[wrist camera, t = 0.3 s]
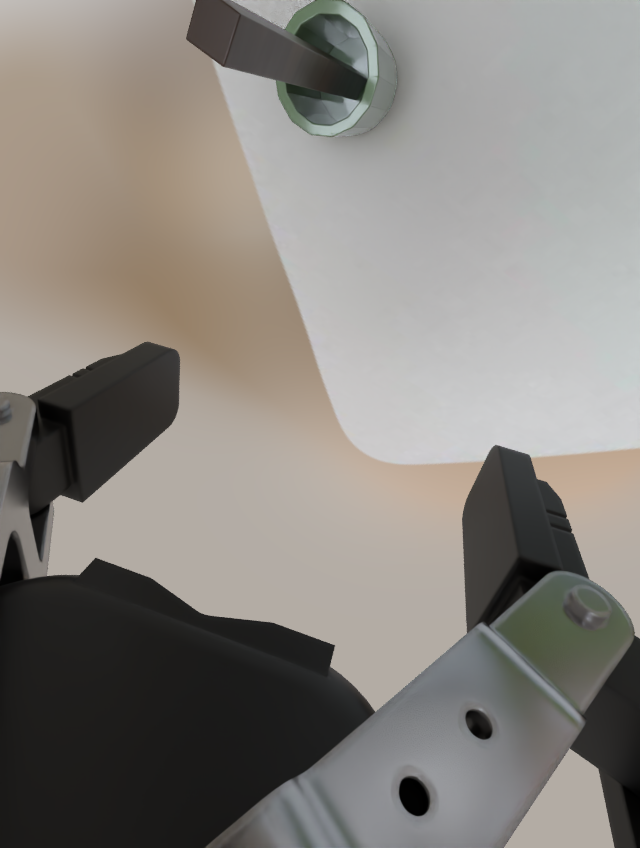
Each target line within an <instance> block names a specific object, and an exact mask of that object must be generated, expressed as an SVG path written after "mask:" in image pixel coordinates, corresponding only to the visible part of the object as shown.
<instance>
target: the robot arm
mask: <svg viewBox="0 0 640 848" xmlns="http://www.w3.org/2000/svg"><path fill="white" fill-rule="evenodd" d="M179 375H180V357H179V354H178V352H177V351H176V350H174V349H171V348H168V347H164V346H161V345H158V344H154V343H151V342H144V343H142V344H140V345H139V346H137V347H135V348H133V349H131V350H129V351H127V352H125V353H123V354H121V355H116V356H112V357H107V358H103V359H100V360H98V361H97V362H95V363H93V364H91V365H89V366H87V367H86V369H81V370H79V371H77V372H75V373H73V376H70V375H69V376H67V377H65V378H63V379H61V380H59V381H57V382H55V383H53V384H52V385H50V386H48V387H46V388H44V389H42V390H40V391H38V392H36V393H34V394H32V395H30V396H28V397H26V396H24V395H21V394H16V393H9V392H0V848H504V846H505V845H506V843H507V842H508V840H509V839H510V837H511V836H512V834H513V833H514V831H515V830H516V828H517V826H518V825H519V824H520V822H521V821H522V819H523V818H524V816H525V814H526V813H527V812H528V810H529V809H530V807H531V806H532V804H533V803H534V801H535V800H536V798H537V796H538V795H539V793H540V792H541V791H542V789H543V788H544V786H545V784H546V783H547V781H548V780H549V778H550V777H551V775H552V774H553V772H554V771H555V769H556V768H557V766H558V765H559V763H560V762H561V760H562V759H563V757H564V756H565V754H566V753H567V751H568V750H569V748H570V749H571V750H573V751H574V752H576V753H577V754H579V755H580V756H581V757H583V758H584V759H586V760H587V761H589V762H590V763H591V764H593V765H594V766H596V767H597V768H598V769H599V773H600V778H601V783H602V788H603V793H604V798H605V802H606V808H607V813H608V817H609V822H610V827H611V832H612V837H613V842H614V847H615V848H640V639H639V638H638V637H636V636H635V635H634V634H635V632H634V627H633V624H632V621H631V619H630V617H629V615H628V614H627V612H626V611H625V609H624V608H623V607H622V605H621V604H620V603H619V602H618V601H617V600H616V599H615V598H614V597H613V596H612V595H611V594H610V593H609V592H607V591H606V590H605V589H604V588H602V587H601V586H599V585H598V584H596V583H594V582H593V581H591V580H590V579H589V577H588V574H587V571H586V568H585V565H584V563H583V560H582V557H581V554H580V551H579V548H578V546H577V543H576V540H575V537H574V534H572V533H571V531H572V529H571V526H570V523H569V520H568V519H566V517H567V515H566V512H565V509H564V506H563V504H562V501H561V499H560V498H559V496H558V495H557V494H556V493H555V492H554V490H553V489H552V488H551V487H550V486H549V485H548V483H547V482H544V481H541V480H538V479H537V478H536V475H535V472H534V468H533V465H532V461H531V458H530V456H529V455H528V454H525V453H521V452H518V451H515V450H511V449H508V448H504V447H501V446H498V445H495V446H494V447H493V448H492V449H491V450H490V452H489V454H488V456H487V458H486V460H485V462H484V464H483V466H482V468H481V470H480V472H479V474H478V476H477V479H476V481H475V483H474V485H473V487H472V489H471V491H470V493H469V495H468V498H467V500H466V503H465V507H464V511H463V518H462V525H463V549H464V572H465V597H466V621H467V634H466V635H465V636H464V637H463V638H461V639H460V640H459V641H458V642H457V643H456V644H455V645H453V646H452V647H451V648H450V649H449V650H447V651H446V652H445V653H444V654H443V655H442V656H440V657H439V658H438V659H437V660H436V661H435V662H434V663H432V664H431V665H430V666H429V667H428V668H426V669H425V670H424V671H423V672H422V673H421V674H419V675H418V676H417V677H416V678H415V679H414V680H412V681H411V682H410V683H409V684H408V685H407V686H405V687H404V688H403V689H402V690H401V691H400V692H398V694H396V695H395V696H394V697H393V698H392V699H390V700H389V701H388V702H387V703H386V704H385V705H383V706H382V707H381V708H380V709H379V710H377V711H376V712H375V711H374V710H373V708H372V707H371V705H370V704H369V703H368V701H367V700H366V699H365V698H364V697H363V696H362V695H361V694H360V692H359V691H358V690H357V689H356V688H355V687H354V686H353V685H352V684H351V683H350V682H349V681H348V680H346V679H345V678H344V677H343V676H342V675H341V674H339V673H338V672H337V671H335V670H334V669H333V668H331V667H330V663H331V659H332V655H333V651H334V647H335V645H332V644H330V643H327V642H324V641H321V640H319V639H316V638H313V637H310V636H308V635H305V634H302V633H299V632H296V631H294V630H291V629H289V628H286V627H283V626H280V625H277V624H275V623H270V622H261V621H252V620H242V619H234V618H225V617H214V616H208V615H204V614H201V613H199V612H198V611H196V610H195V609H193V608H192V607H191V606H189V605H188V604H186V603H185V602H184V601H182V600H181V599H180V598H178V597H177V596H175V595H174V594H173V593H171V592H170V591H168V590H167V589H165V588H164V587H163V586H161V585H160V584H158V583H157V582H156V581H154V580H153V579H151V578H149V577H146V576H144V575H141V574H138V573H135V572H132V571H130V570H127V569H124V568H122V567H119V566H116V565H114V564H111V563H108V562H105V561H102V560H100V559H97V558H95V559H94V560H93V561H92V562H91V564H89V566H88V567H87V568H86V569H85V570H84V571H83V572H82V573H81V574H80V575H54V576H47V570H48V561H49V552H50V543H51V533H52V525H53V516H54V507H53V502H52V501H53V500H54V499H56V498H57V497H58V496H59V495H62V496H66V497H68V498H71V499H74V500H77V501H80V502H84V501H85V500H86V499H87V498H88V497H90V496H91V495H92V494H93V493H94V492H95V491H96V490H98V489H99V488H100V487H101V486H102V485H103V484H104V483H106V482H107V481H108V480H109V479H110V478H111V477H112V476H113V475H115V474H116V473H117V472H118V471H119V470H120V469H121V468H123V467H124V466H125V465H126V464H127V463H128V462H129V461H131V460H132V459H133V458H134V457H135V456H136V455H137V454H139V452H141V451H142V450H143V449H144V448H145V447H147V446H148V445H149V444H150V443H151V442H152V441H153V440H155V439H156V438H157V437H158V436H159V435H160V434H161V433H163V431H165V430H166V429H167V428H168V427H169V426H170V425H171V424H172V422H173V421H174V419H175V417H176V414H177V411H178V406H179Z"/></svg>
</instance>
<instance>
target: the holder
mask: <svg viewBox="0 0 640 848" xmlns="http://www.w3.org/2000/svg"><path fill="white" fill-rule="evenodd" d="M285 30H286V31H288V32H290V33H291V34H293V35H295V36H297V37H299V38H300V39H302V40H304V41H306V42H308V43H310V44H311V45H313V46H315V47H317V48H319V49H320V50H322V51H324V52H326V53H328V54H330V55H331V56H333V57H335V58H337V59H339V60H340V61H342V62H344V63H346V64H348V65H350V66H351V67H353V68H354V69H355V70H356V71H358V72H359V73H360V74H362V75H363V76H364V77H366V78H367V80H366V82H365V84H364V86H363V88H362V90H361V92H360V94H359V96H358V98H357V100H352V99H348V98H344V97H340V96H336V95H332V94H328V93H324V92H320V91H316V90H313V89H309V88H305V87H301V86H297V85H293V84H289V83H285V82H281V81H277V80H276V85H277V92H278V97H279V100H280V101H281V103H282V105H283V107H284V109H285V110H286V112H287V114H288V116H289V118H290V119H291V120H292V122H293V123H295V124H296V125H297V126H299V127H300V128H302V129H303V130H304V131H306V132H307V133H308V134H311V135H316V136H325V137H340V136H355V135H359V134H361V133H365V132H367V131H369V130H371V129H373V128H374V127H375V126H377V125H378V124H379V123H380V122H381V121H382V120H383V118H384V117H385V116H386V114H387V113H388V111H389V109H390V107H391V105H392V102H393V100H394V96H395V92H396V86H397V69H396V63H395V60H394V57H393V54H392V52H391V50H390V48H389V46H388V44H387V42H386V41H385V39H384V38H383V37H382V36H381V35H380V34H379V32H378V31H377V30H376V29H375V28H374V27H373V26H372V24H371V23H370V22H369V21H368V20H367V19H366V18H365V17H364V16H363V15H362V14H361V13H359V12H358V11H357V10H356V9H354V8H353V7H352V6H351V5H349V4H348V3H347V2H345V1H343V0H315V1H313V2H312V3H310V4H308V5H307V6H305V7H303V8H302V9H300V10H299V11H297V12H296V13H295V14H294V15H293V17H292V19H291V20H290V22H289V23H288V25H287V27H286V28H285Z"/></svg>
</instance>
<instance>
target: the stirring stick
mask: <svg viewBox="0 0 640 848" xmlns="http://www.w3.org/2000/svg"><path fill="white" fill-rule="evenodd" d="M186 39H187V40H188V41H189V42H190V43H192V44H193V45H195V46H196V47H197V48H198V49H200V50H201V51H202V52H204V53H205V54H207V55H208V56H209V57H211V58H212V59H213V60H215V61H216V62H217V63H219V64H220V65H221V66H223V67H227V68H231V69H234V70H238V71H242V72H246V73H250V74H254V75H258V76H262V77H266V78H270V79H273V80H277V81H281V82H285V83H289V84H293V85H297V86H301V87H305V88H309V89H313V90H316V91H320V92H324V93H328V94H332V95H336V96H340V97H344V98H348V99H352V100H357V98H358V96H359V94H360V92H361V90H362V88H363V86H364V84H365V82H366V80H367V78H366V77H364V76H363V75H362V74H360V73H359V72H358V71H356V70H355V69H354V68H353V67H351V66H350V65H348V64H346V63H344V62H342V61H340V60H339V59H337V58H335V57H333V56H331V55H330V54H328V53H326V52H324V51H322V50H320V49H319V48H317V47H315V46H313V45H311V44H310V43H308V42H306V41H304V40H302V39H300V38H299V37H297V36H295V35H293V34H291V33H290V32H288V31H286V30H284V29H282V28H280V27H279V26H277V25H275V24H273V23H271V22H270V21H268V20H266V19H264V18H262V17H260V16H259V15H257V14H255V13H253V12H251V11H250V10H248V9H246V8H244V7H242V6H240V5H239V4H237V3H235V2H233V1H231V0H196V3H195V7H194V10H193V14H192V18H191V22H190V25H189V29H188V33H187V37H186Z"/></svg>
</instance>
